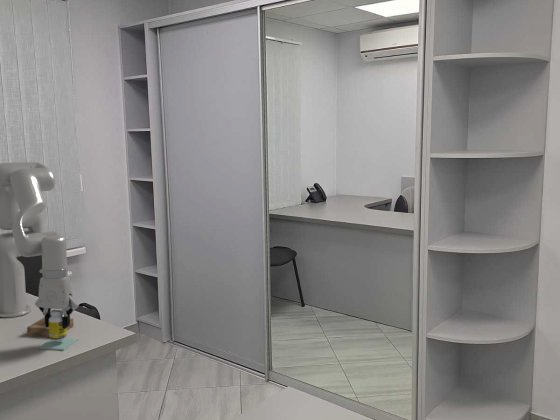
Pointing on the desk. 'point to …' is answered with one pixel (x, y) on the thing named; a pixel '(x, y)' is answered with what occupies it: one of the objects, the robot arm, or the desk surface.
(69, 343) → the coaster plate
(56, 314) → the supplement bottle
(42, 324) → the can holder
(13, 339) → the desk surface
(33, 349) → the desk surface
